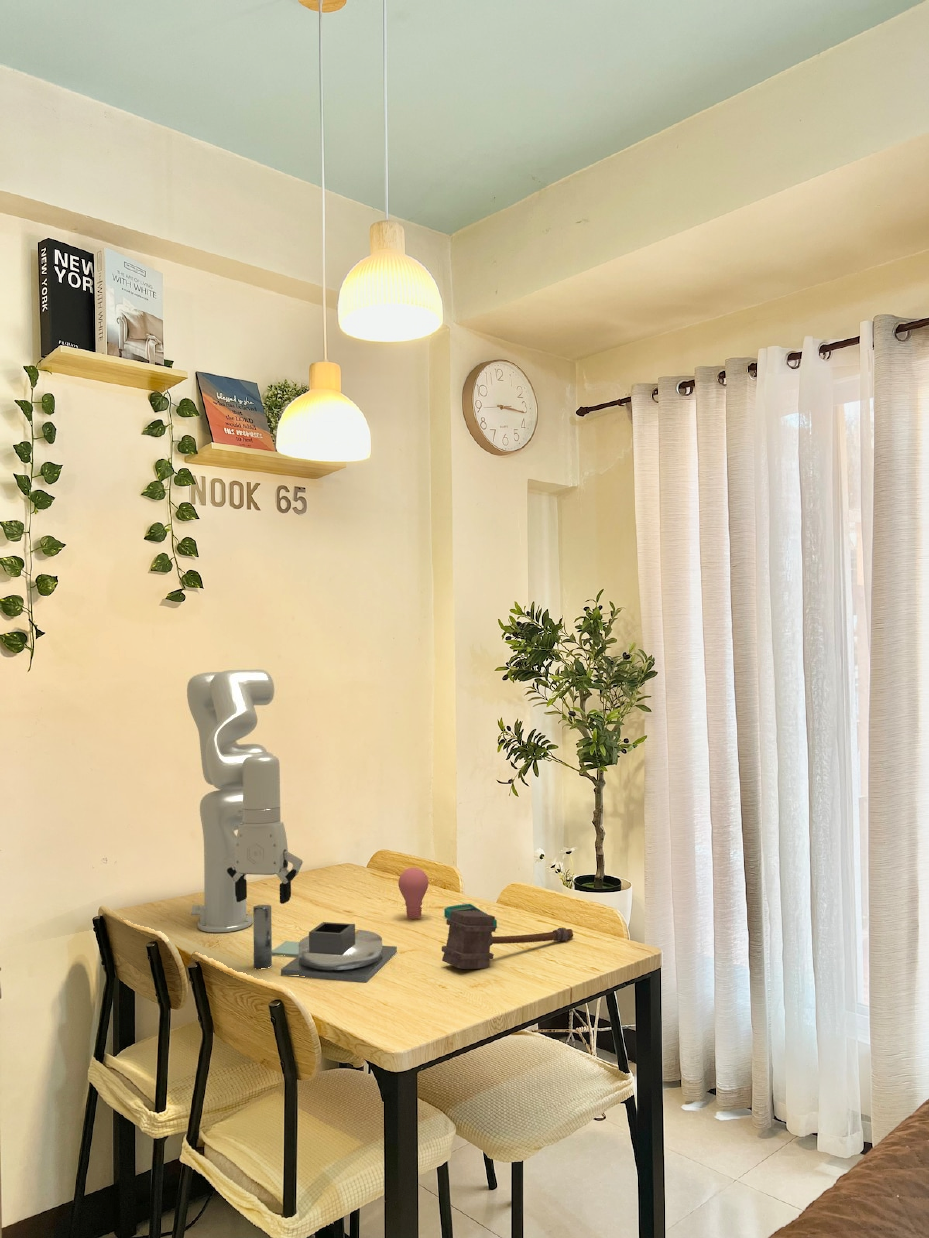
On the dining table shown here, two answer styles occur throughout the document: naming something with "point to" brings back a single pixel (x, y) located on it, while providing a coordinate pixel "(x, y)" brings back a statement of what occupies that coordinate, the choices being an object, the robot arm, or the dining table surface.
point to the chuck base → (346, 975)
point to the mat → (287, 949)
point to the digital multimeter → (463, 908)
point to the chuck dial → (339, 947)
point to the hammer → (483, 939)
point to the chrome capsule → (262, 936)
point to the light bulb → (413, 890)
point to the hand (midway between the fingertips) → (263, 901)
